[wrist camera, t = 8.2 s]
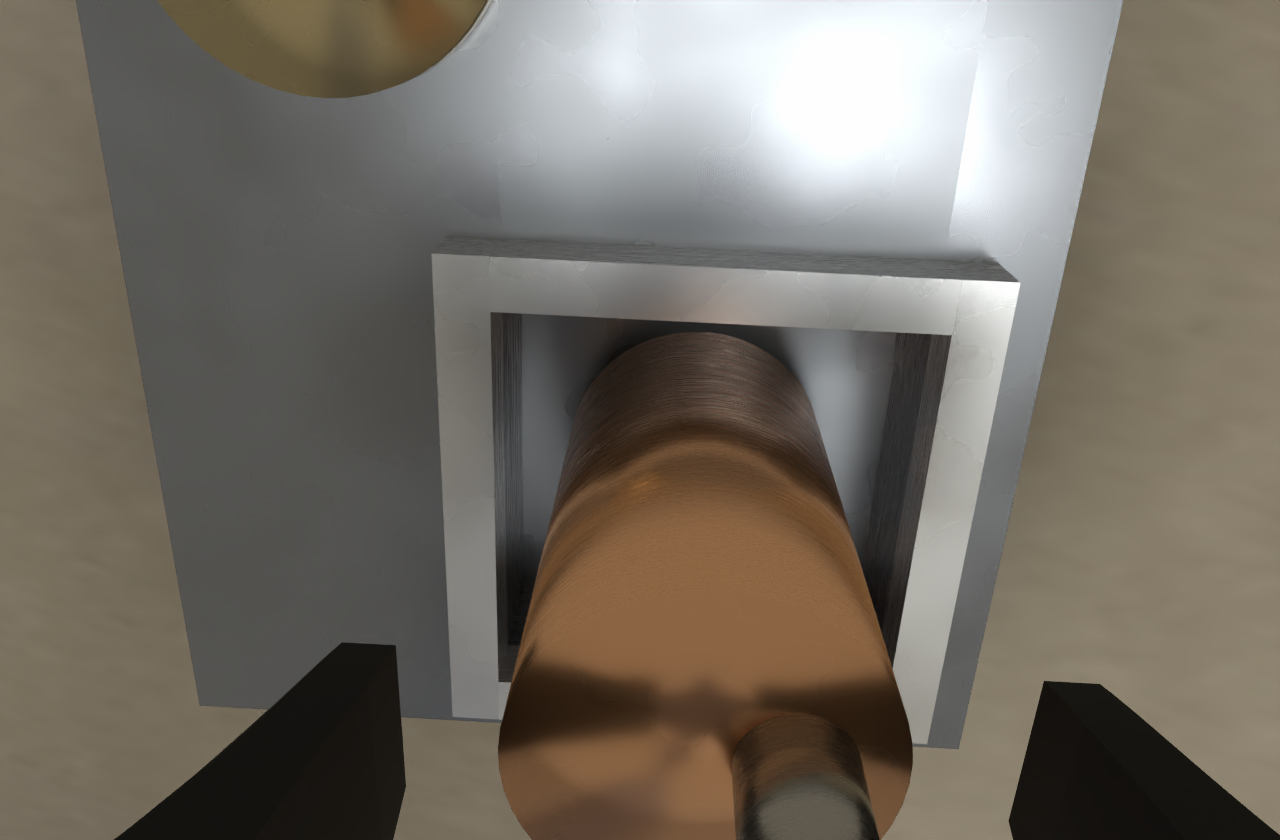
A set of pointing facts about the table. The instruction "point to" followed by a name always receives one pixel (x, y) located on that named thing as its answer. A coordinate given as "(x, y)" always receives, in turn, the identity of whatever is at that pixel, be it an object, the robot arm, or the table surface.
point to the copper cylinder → (701, 620)
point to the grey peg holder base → (574, 291)
